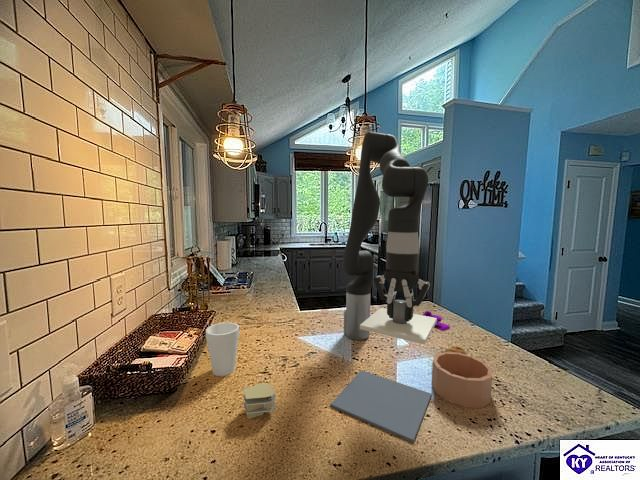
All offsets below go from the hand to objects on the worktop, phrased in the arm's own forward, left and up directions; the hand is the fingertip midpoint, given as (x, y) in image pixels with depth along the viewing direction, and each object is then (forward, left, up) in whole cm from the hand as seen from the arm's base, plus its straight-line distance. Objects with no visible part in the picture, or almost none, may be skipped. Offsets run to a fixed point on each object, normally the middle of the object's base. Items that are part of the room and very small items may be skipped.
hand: (399, 318), depth 69 cm
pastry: (+10, +29, -22) cm, 38 cm away
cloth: (-6, +57, -22) cm, 62 cm away
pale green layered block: (-26, -23, -22) cm, 41 cm away
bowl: (+13, +13, -21) cm, 28 cm away
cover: (0, 0, -2) cm, 2 cm away
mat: (-3, -3, -21) cm, 22 cm away
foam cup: (-48, -16, -21) cm, 55 cm away
